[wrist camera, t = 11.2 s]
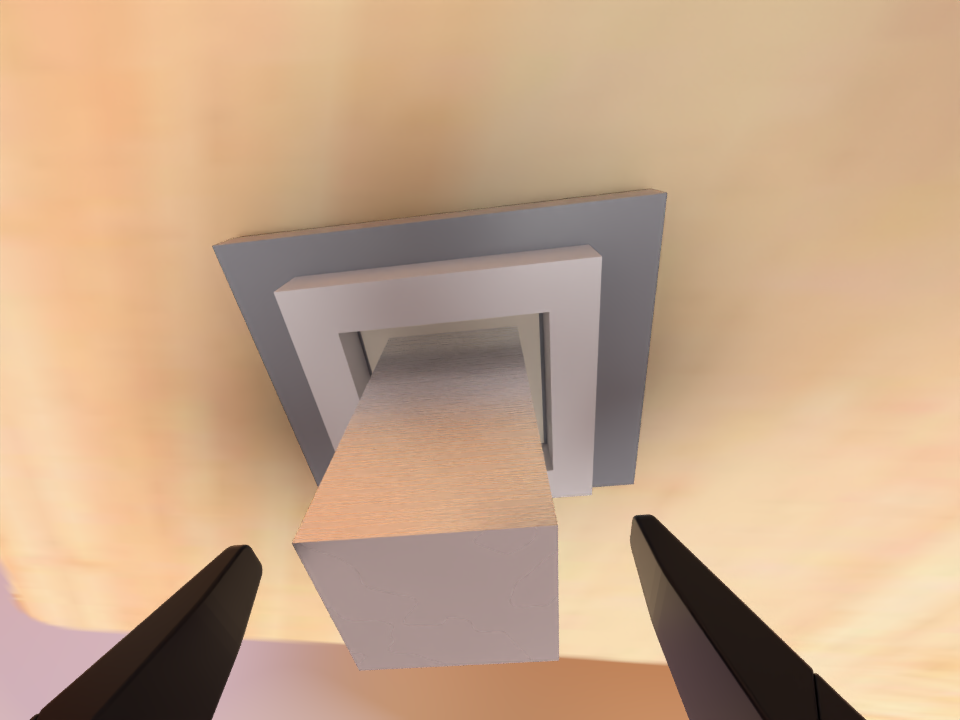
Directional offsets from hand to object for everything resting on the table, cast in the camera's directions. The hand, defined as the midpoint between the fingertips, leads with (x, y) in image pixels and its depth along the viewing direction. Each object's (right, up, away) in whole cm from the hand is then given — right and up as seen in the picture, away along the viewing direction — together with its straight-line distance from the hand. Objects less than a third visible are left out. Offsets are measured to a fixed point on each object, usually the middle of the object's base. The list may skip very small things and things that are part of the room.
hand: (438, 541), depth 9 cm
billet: (0, +3, +6) cm, 6 cm away
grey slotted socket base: (0, +4, +7) cm, 8 cm away
